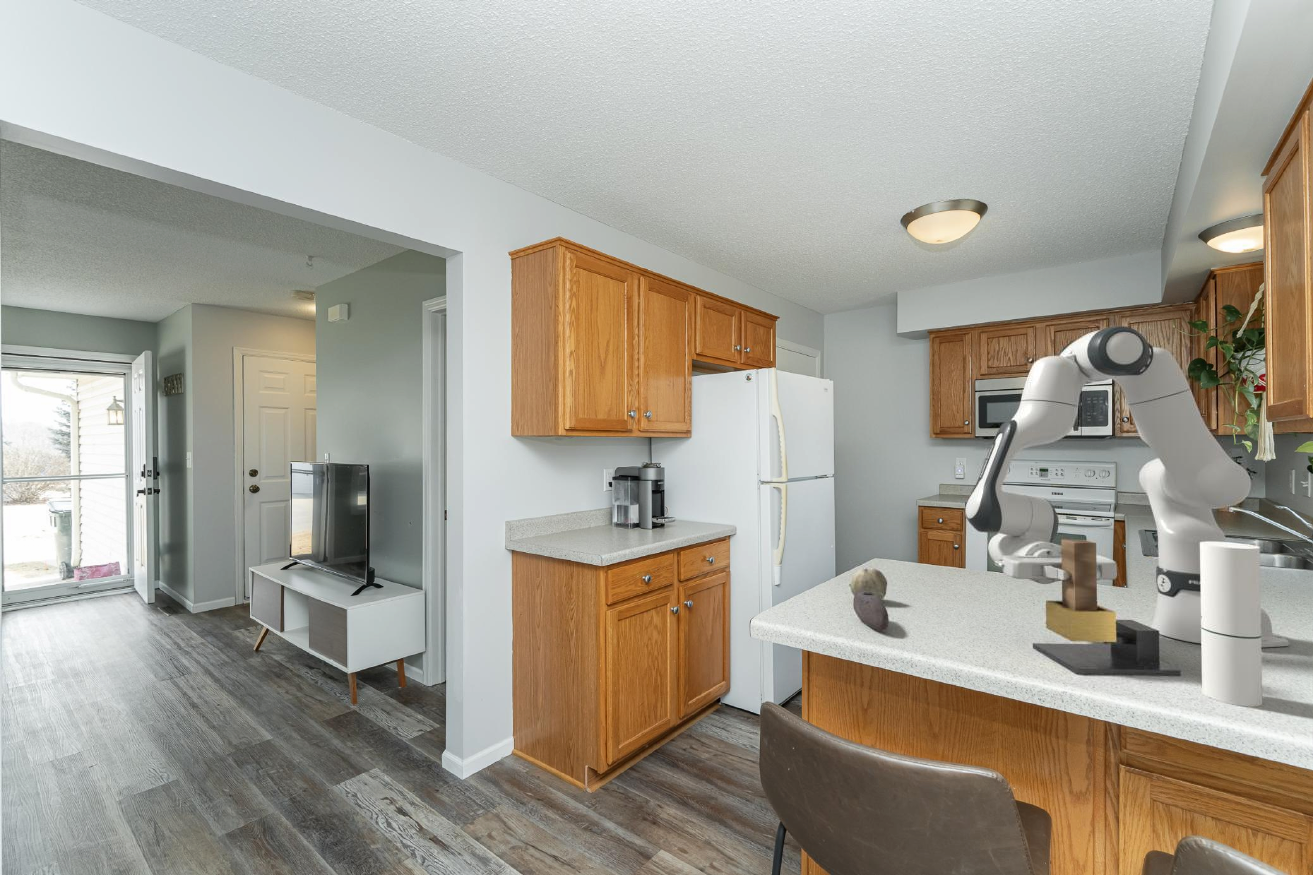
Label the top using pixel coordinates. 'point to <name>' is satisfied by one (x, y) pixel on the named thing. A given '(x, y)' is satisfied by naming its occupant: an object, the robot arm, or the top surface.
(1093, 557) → the rail post
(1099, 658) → the cup bracket
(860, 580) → the garlic bulb
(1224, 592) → the cylindrical container
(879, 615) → the perforated stone tool
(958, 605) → the top surface
